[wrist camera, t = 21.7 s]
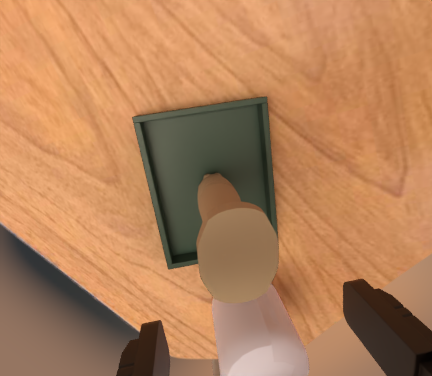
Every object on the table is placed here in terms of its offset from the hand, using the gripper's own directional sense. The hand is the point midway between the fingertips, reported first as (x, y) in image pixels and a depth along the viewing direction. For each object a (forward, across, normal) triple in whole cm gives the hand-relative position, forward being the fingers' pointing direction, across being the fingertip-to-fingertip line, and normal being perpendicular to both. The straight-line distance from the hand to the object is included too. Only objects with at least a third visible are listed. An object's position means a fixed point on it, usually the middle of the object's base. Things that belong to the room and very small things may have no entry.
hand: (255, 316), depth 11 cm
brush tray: (+20, 0, 0) cm, 20 cm away
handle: (+20, 0, 0) cm, 20 cm away
